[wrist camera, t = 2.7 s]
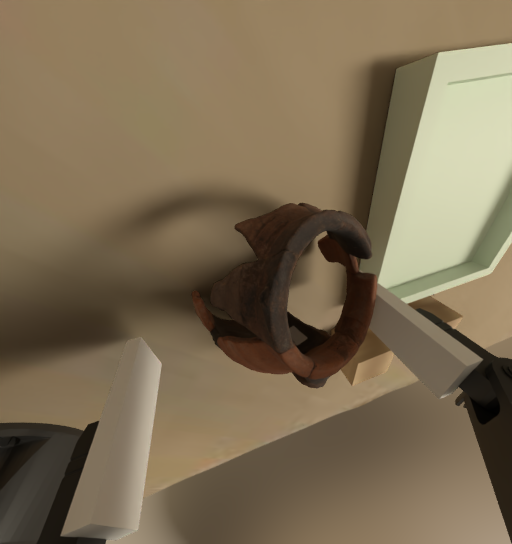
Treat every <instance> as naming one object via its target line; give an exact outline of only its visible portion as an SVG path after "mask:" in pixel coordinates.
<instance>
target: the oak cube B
mask: <svg viewBox="0 0 512 544" xmlns="http://www.w3.org/2000/svg"><path fill="white" fill-rule="evenodd" d="M408 305H409V306H410V307H412V308H413V309H414V310H415V309H418V308H421V309H423V310H426V311H428V312H430V313H432V314H434V315H435V316H437V317H438V318H440V319H441V320H443V322H444V323H447V324H448V325H450V326H451V327H452V328H453V329H455V328H456V327H457V325H458V324H459V322H460V321H461V319H462V318H463V316H462V315H460V314H458V313H457V312H455V311H454V310H452V309H450V308H449V307H447V306H445V305H444V304H442V303H441V302H439V301H437V300H436V299H434V298H432V297H431V296H427V297H425V298H422V299H419V300H416V301H413V302H411V303H408Z"/></svg>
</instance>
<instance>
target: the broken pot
mask: <svg viewBox="0 0 512 544" xmlns="http://www.w3.org/2000/svg"><path fill="white" fill-rule="evenodd" d="M235 229H236V230H237V231H238V232H240V233H242V234H243V236H244V237H245V238H246V240H247V242H248V243H249V245H250V246H251V248H252V249H253V251H254V252H255V254H256V256H257V257H258V260H257V261H256V262H250V263H243V264H241V265H240V266H238V267H236V268H235V269H233V270H232V271H231V272H230V273H229V274H228V275H227V276H226V277H225V278H224V279H222V280H220V281H218V282H216V283H215V284H214V285H213V287H212V292H211V298H210V300H211V304H212V305H213V306H214V307H217V308H219V309H221V310H223V311H226V312H227V313H228V315H229V316H230V317H231V318H232V319H234V320H225V319H220V318H218V317H216V316H215V315H213V314H212V313H211V312H210V311H209V310H208V309H207V308H206V306H205V304H204V301H203V300H202V299H201V296H200V294H199V292H198V291H193V292H192V297H193V303H194V307H195V310H196V313H197V315H198V316H199V318H200V319H201V321H202V323H203V325H204V326H205V327H206V328H207V329H208V330H209V331H210V333H211V335H212V336H213V340H214V341H215V344H216V345H217V346H218V347H219V348H220V349H221V350H223V352H224V353H225V354H226V355H227V356H228V357H229V358H231V359H232V360H233V361H235V362H237V363H239V364H241V365H243V366H245V367H247V368H249V369H251V370H254V371H257V372H262V373H271V374H287V373H289V372H292V374H293V375H294V376H295V377H296V379H297V380H298V381H299V382H301V383H302V384H303V385H306V386H308V387H310V388H319V387H323V386H324V385H325V383H326V381H327V379H328V378H329V377H330V376H331V375H333V374H335V373H337V372H338V371H339V370H340V369H341V368H343V367H344V366H345V365H346V364H347V363H348V362H349V361H350V360H351V359H352V358H353V357H354V356H355V354H356V353H357V351H358V350H359V347H360V346H361V345H362V343H363V342H364V340H365V337H366V335H367V331H368V328H369V326H370V323H371V319H372V316H373V311H374V306H375V301H376V293H377V276H376V275H375V274H372V273H362V272H360V271H359V269H358V262H357V258H356V257H358V258H360V259H370V258H371V257H372V251H371V250H372V244H371V240H370V238H369V236H368V234H367V232H366V230H365V229H364V228H363V227H362V225H361V224H360V222H359V221H358V220H356V219H355V218H354V217H353V216H352V215H350V214H348V213H345V212H342V211H338V212H337V211H335V210H323V211H322V210H320V209H318V208H317V207H314V206H312V205H309V204H305V203H299V204H298V205H296V204H293V203H289V204H286V205H283V206H281V207H280V208H278V209H276V210H274V211H273V212H271V213H268V214H265V215H263V216H259V217H257V218H254V219H248V220H245V221H243V222H241V223H238V224H236V225H235ZM324 231H327V234H328V235H326V236H325V237H323V238H322V239H320V240H319V241H318V247H319V249H320V251H321V253H322V254H323V256H324V257H325V259H326V260H327V261H328V262H339V263H341V264H342V265H344V266H345V267H346V273H347V295H346V301H345V303H344V306H343V310H342V314H341V317H340V319H339V321H338V323H337V325H336V326H335V329H334V331H335V334H333V335H332V336H330V335H329V334H328V333H327V332H326V331H324V330H318V329H316V328H315V327H313V326H310V325H307V324H305V323H303V322H302V321H300V320H299V319H297V318H296V317H294V316H293V315H292V314H290V313H289V312H287V302H288V295H289V286H290V281H291V277H292V273H293V271H294V269H295V266H296V262H297V261H298V259H299V257H300V256H301V254H302V253H303V251H304V249H305V248H306V247H307V246H308V245H309V243H310V242H311V241H312V240H313V239H314V238H315V237H316V236H317V235H319V234H320V233H322V232H324Z"/></svg>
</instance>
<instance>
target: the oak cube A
mask: <svg viewBox="0 0 512 544" xmlns="http://www.w3.org/2000/svg"><path fill="white" fill-rule="evenodd" d="M334 329H335V328H334ZM334 329H332V330H331V336H332V335H333V334H335V331H334ZM393 356H394V353H393V352H392V351H391V350H390V349H389V348H388V347H387V346H386V345H385V344H384V343H383V342H382V341H381V340H380V339H379V338H378V337H377V336H376V335H375V334H374V333H373V332H372V331H371V330H370V329H369V328H368V331H367V335H366V337H365V340H364V342H363V343H362V345H361V346H360V347H359V350H358V351H357V353H356V354H355V356H354V357H353V358H352V359H351V360H350V361H349V362H348V363H347V364H346V365H345V366H344V367H343V368H341V371H342V372H343V374H344V375H345V376H346V378H347V379H348V381H349V382H350V384H351V385H352V386H354V385H356V384H358V383H361V382H363V381H365V380H368V379H370V378H373V377H375V376H377V375H380V374H382V373H385V372H387V370H388V367H389V365H390V363H391V361H392V358H393Z"/></svg>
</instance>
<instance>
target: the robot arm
mask: <svg viewBox="0 0 512 544" xmlns="http://www.w3.org/2000/svg"><path fill="white" fill-rule="evenodd" d="M360 272H362V271H361V270H360ZM362 273H364V272H362ZM369 329H370V330H371V331H372V332H373V333H374V334H375V335H376V336H377V337H378V338H379V339H380V340H381V341H382V342H383V343H384V344H385V345H386V346H387V347H388V348H389V349H390V350H391V351H392V352H393V353H394V354H395V355H396V356H397V357H398V358H399V359H400V360H401V361H402V362H403V363H404V364H405V365H406V366H407V367H408V368H409V369H410V370H411V371H412V372H413V373H414V374H415V375H416V376H417V377H418V378H419V380H420V381H422V383H424V385H425V386H426V387H427V388H428V389H429V390H430V391H431V392H432V393H433V394H434V395H435V396H436V397H437V398H438V399H440V398H443V397H445V396H447V395H450V394H452V393H453V392H454V391H455V390H456V389H457V388H458V387H460V388H461V389H462V390H463V392H462V393H461V394H460V395H459V396H458V397H457V399H456V401H455V402H456V405H457V406H459V405H460V404H461V403H462V402H465V404H464V408H467V410H468V414H469V417H470V420H471V423H472V426H473V429H474V432H475V435H476V438H477V441H478V444H479V447H480V450H481V453H482V456H483V459H484V462H485V465H486V468H487V471H488V474H489V477H490V479H491V483H492V486H493V488H494V492H495V495H496V498H497V501H498V504H499V507H500V510H501V513H502V516H503V519H504V522H505V525H506V528H507V531H508V534H509V537H510V540H511V543H512V359H508V358H498V357H496V356H494V355H492V354H491V353H489V352H488V351H486V350H485V349H483V348H482V347H480V346H479V345H477V344H476V343H474V342H473V341H472V340H470V339H469V338H467V337H466V336H464V335H463V334H461V333H460V332H459V331H457V330H456V329H453V328H452V327H451V326H450V325H448V324H447V323H444V322H443V320H441V319H440V318H438V317H437V316H435V315H434V314H432V313H430V312H428V311H426V310H423V309H421V308H418V309H415V310H414V309H413V308H412V307H410V306H409V305H408V304H406V303H405V302H403V301H402V300H401V299H399V298H398V297H397V296H395V295H394V294H392V293H391V292H390V291H388V290H387V289H386V288H384V287H383V286H381V285H380V284H379V283H377V293H376V301H375V306H374V311H373V316H372V319H371V323H370V326H369ZM161 366H162V364H161V362H160V361H159V360H158V358H157V357H156V356H155V354H154V353H153V352H152V350H151V349H150V348H149V346H148V345H147V344H146V342H145V341H144V340H143V338H142V337H138V338H135V339H132V340H129V341H127V342H126V345H125V348H124V350H123V353H122V356H121V359H120V362H119V365H118V368H117V371H116V374H115V377H114V380H113V383H112V386H111V389H110V392H109V395H108V397H107V400H106V403H105V406H104V409H103V412H102V415H101V418H100V421H97V422H94V423H91V424H88V426H87V427H86V429H85V430H84V431H82V430H79V429H76V428H71V427H67V426H61V425H53V424H43V423H0V544H105V543H106V540H117V539H120V538H122V537H124V536H127V535H129V534H131V533H133V532H136V531H138V527H139V521H140V514H141V507H142V500H143V493H144V486H145V479H146V471H147V464H148V457H149V450H150V443H151V436H152V429H153V422H154V415H155V408H156V401H157V394H158V387H159V380H160V373H161Z"/></svg>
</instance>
